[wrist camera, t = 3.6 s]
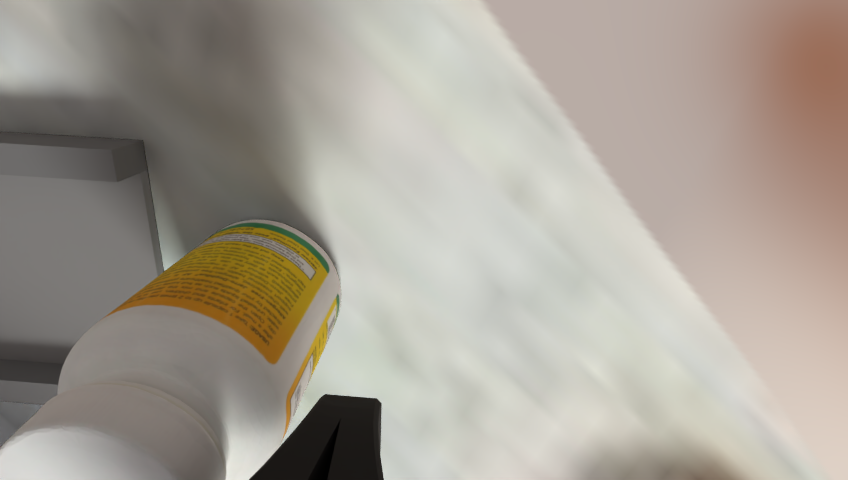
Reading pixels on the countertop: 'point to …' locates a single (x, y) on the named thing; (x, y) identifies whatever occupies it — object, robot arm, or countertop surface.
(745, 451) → the countertop surface
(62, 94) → the countertop surface
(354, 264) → the countertop surface
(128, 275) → the stand
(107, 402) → the supplement bottle
